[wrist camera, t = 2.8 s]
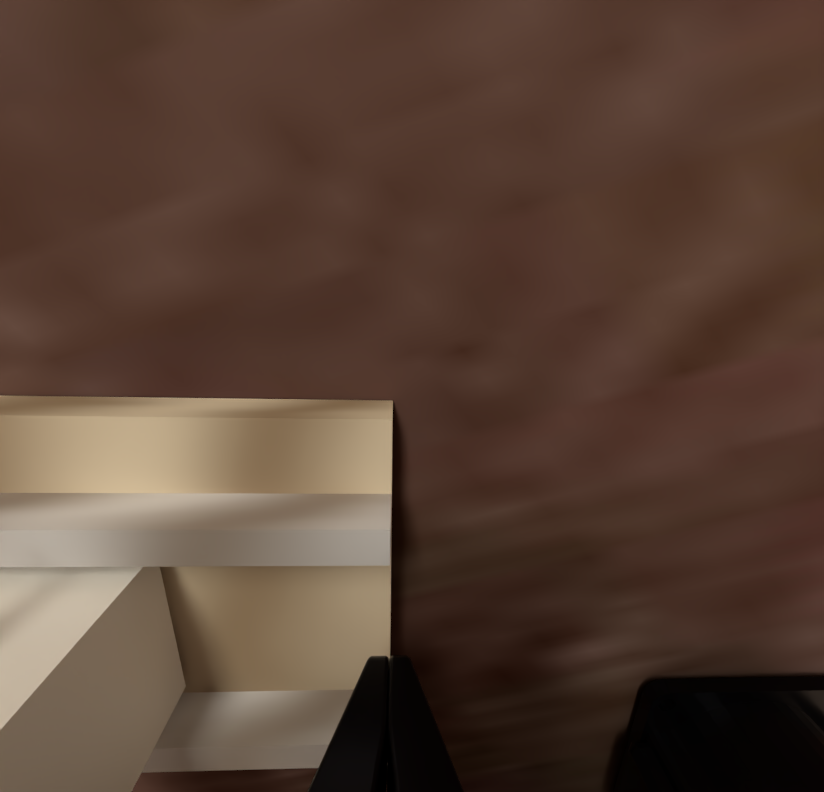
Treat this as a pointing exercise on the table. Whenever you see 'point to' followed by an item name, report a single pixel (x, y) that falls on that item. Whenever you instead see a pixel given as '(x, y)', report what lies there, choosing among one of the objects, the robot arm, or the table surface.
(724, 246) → the table surface
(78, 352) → the table surface
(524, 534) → the table surface
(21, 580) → the tuning slider
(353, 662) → the board
